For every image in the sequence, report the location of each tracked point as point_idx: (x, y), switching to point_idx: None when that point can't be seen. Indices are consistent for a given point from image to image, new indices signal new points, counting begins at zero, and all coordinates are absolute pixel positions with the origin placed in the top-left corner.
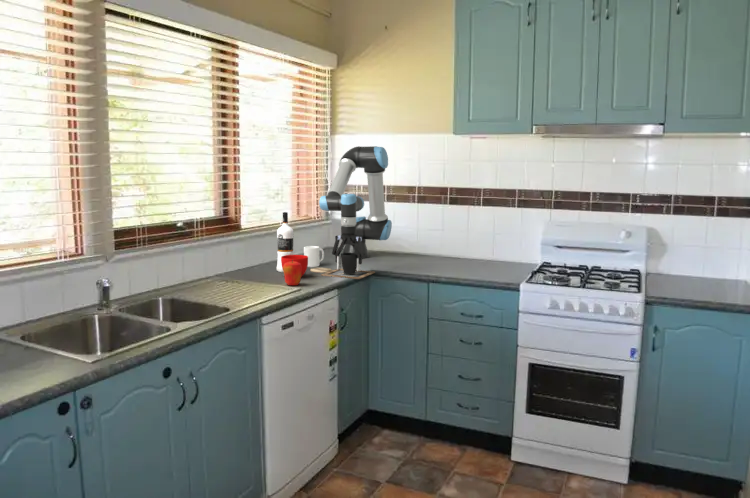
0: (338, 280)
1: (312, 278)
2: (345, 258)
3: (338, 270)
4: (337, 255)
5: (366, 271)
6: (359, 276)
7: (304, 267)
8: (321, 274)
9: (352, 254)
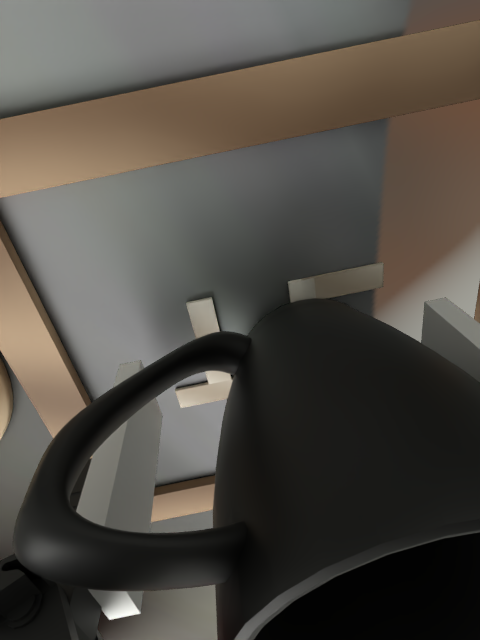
0: None
1: (155, 594)
2: (382, 636)
3: (14, 252)
4: (97, 632)
5: (450, 89)
6: None
7: None
8: None
9: (415, 494)
